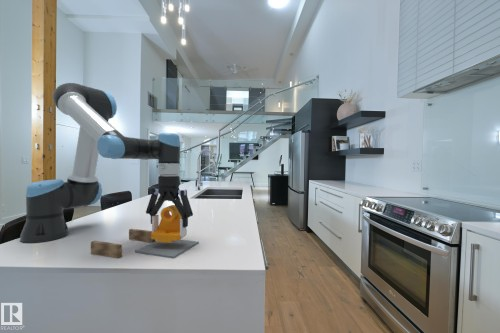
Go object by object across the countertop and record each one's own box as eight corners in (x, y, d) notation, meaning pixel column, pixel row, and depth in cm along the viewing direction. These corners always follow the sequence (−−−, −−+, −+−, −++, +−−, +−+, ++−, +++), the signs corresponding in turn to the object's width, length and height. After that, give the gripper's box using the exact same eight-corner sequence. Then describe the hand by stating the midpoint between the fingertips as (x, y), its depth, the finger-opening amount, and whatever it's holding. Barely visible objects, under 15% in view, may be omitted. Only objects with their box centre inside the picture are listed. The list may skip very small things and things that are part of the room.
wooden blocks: (90, 253, 83) (90, 241, 83) (131, 238, 100) (131, 228, 100) (118, 258, 79) (118, 246, 79) (155, 241, 96) (155, 231, 96)
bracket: (149, 241, 86) (149, 207, 86) (160, 235, 94) (160, 204, 93) (178, 243, 85) (178, 209, 85) (186, 236, 92) (186, 205, 92)
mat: (134, 252, 84) (134, 250, 84) (164, 238, 99) (164, 237, 99) (173, 258, 79) (173, 256, 79) (198, 243, 94) (198, 241, 94)
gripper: (135, 175, 89) (135, 233, 89) (191, 176, 82) (191, 240, 82) (149, 174, 96) (149, 228, 97) (202, 175, 89) (202, 234, 89)
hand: (168, 234), depth 89 cm, fingers closed on bracket, 11 cm apart
